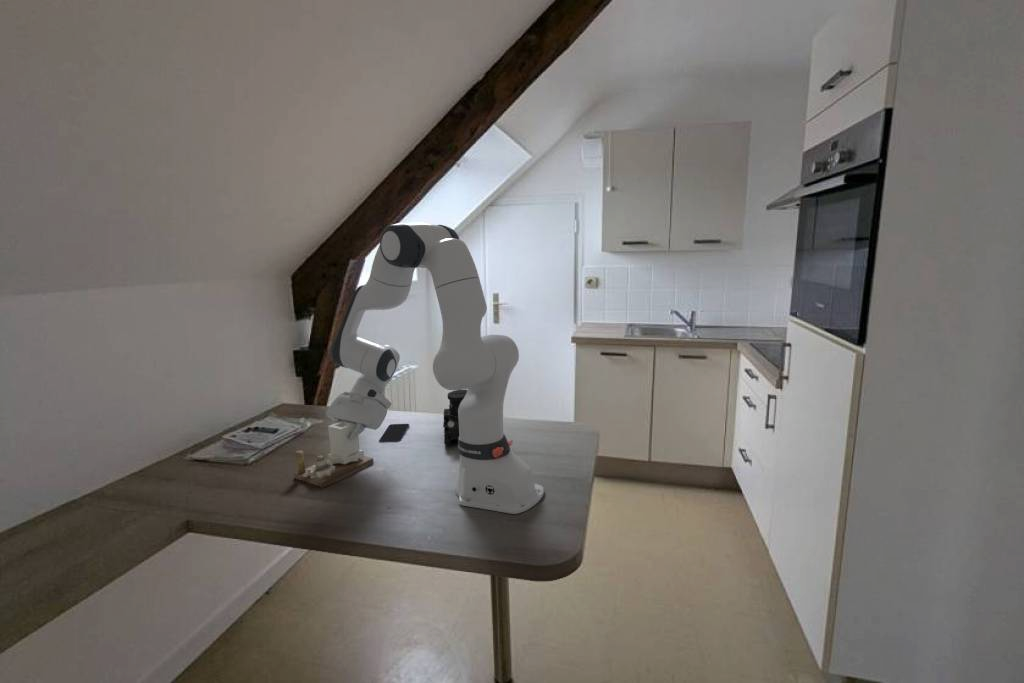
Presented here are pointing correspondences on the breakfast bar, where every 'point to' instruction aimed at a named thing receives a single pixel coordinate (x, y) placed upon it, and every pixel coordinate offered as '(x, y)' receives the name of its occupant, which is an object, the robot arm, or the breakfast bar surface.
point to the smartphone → (394, 433)
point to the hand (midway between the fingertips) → (342, 437)
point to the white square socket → (343, 443)
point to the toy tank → (452, 416)
